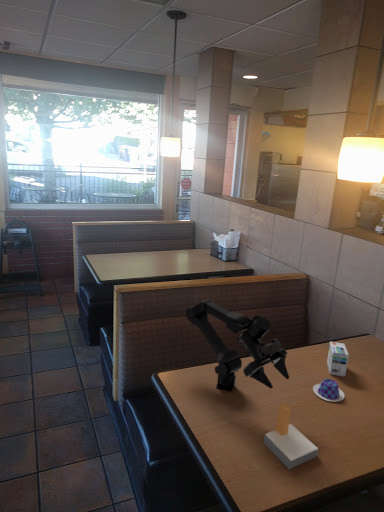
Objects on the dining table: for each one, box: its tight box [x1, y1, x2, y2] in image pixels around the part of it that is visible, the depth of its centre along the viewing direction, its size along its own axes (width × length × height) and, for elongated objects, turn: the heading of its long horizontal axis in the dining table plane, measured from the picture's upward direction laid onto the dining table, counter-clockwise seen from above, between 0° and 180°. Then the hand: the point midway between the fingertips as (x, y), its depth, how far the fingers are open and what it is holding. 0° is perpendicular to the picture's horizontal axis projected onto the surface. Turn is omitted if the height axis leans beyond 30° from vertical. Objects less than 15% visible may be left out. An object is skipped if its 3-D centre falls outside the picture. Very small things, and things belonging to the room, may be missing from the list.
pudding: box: [312, 378, 346, 403], centre depth 152 cm, size 12×12×5 cm
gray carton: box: [262, 435, 319, 470], centre depth 122 cm, size 12×12×2 cm
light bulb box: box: [326, 341, 350, 378], centre depth 168 cm, size 11×7×11 cm, turn 168°
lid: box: [265, 402, 319, 461], centre depth 120 cm, size 12×11×10 cm
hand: (280, 383), depth 131 cm, fingers open, 9 cm apart
